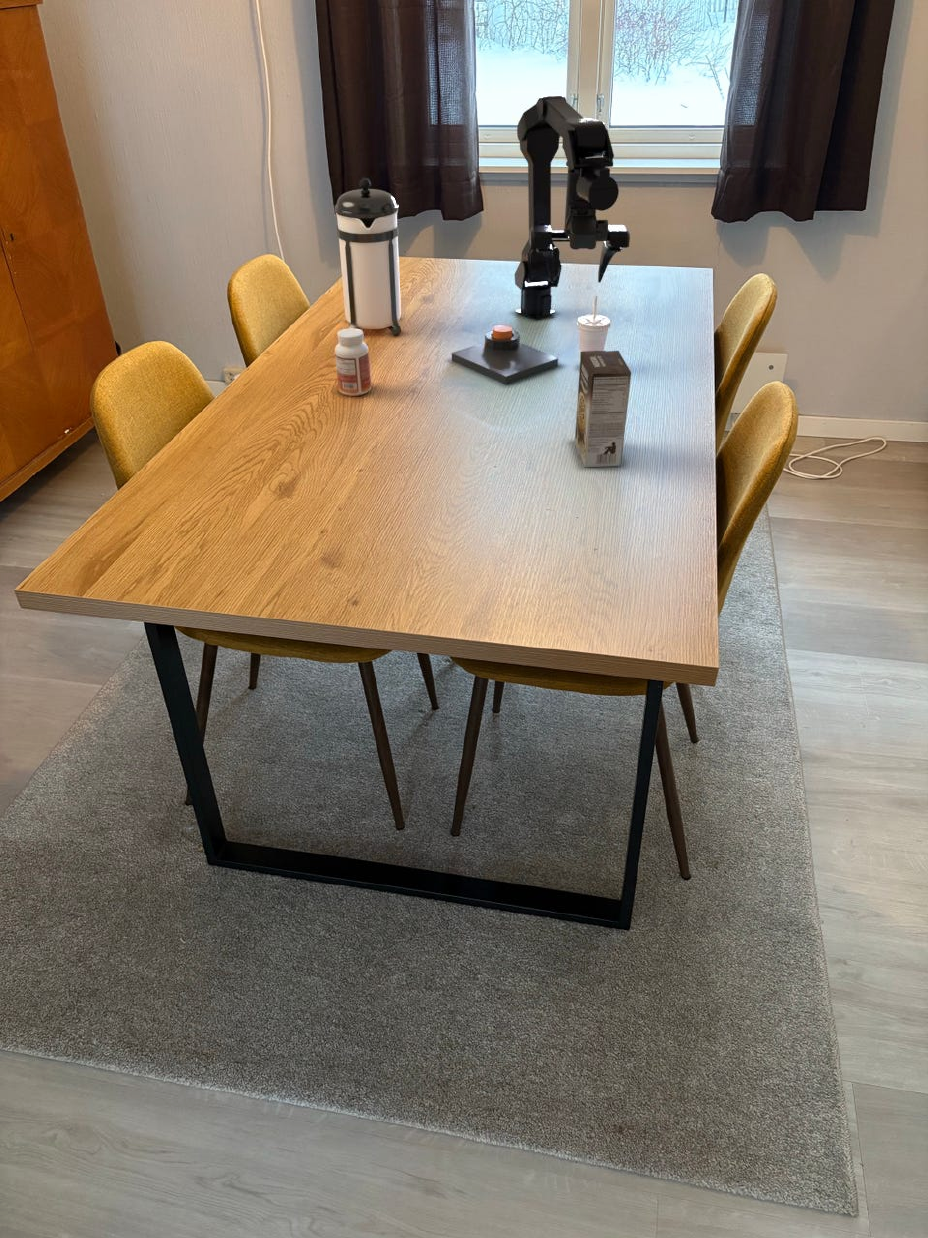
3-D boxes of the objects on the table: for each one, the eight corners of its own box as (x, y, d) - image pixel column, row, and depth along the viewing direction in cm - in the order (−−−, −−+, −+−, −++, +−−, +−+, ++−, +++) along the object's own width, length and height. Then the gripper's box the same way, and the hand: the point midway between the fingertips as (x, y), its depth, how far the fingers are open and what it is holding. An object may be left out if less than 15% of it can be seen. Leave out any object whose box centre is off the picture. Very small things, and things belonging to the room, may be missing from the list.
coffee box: (572, 442, 159) (579, 350, 149) (610, 441, 159) (619, 348, 150) (583, 468, 152) (590, 372, 142) (622, 466, 152) (632, 371, 142)
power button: (488, 336, 190) (488, 327, 189) (503, 331, 192) (503, 323, 191) (501, 341, 188) (502, 333, 187) (516, 337, 190) (516, 328, 189)
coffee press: (426, 325, 204) (421, 176, 186) (371, 345, 195) (361, 190, 177) (372, 307, 214) (363, 163, 196) (318, 325, 205) (303, 176, 187)
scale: (450, 360, 188) (449, 343, 186) (503, 343, 196) (503, 326, 194) (505, 385, 178) (506, 367, 176) (559, 365, 186) (560, 348, 184)
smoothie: (606, 362, 187) (612, 292, 179) (606, 375, 182) (613, 303, 173) (573, 361, 188) (578, 291, 179) (573, 374, 182) (578, 302, 174)
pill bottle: (364, 381, 180) (360, 324, 173) (376, 392, 176) (372, 334, 169) (333, 387, 178) (328, 329, 171) (345, 399, 174) (340, 340, 167)
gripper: (534, 208, 168) (531, 295, 178) (638, 207, 169) (629, 295, 178) (530, 193, 177) (527, 277, 187) (628, 192, 177) (620, 276, 187)
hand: (575, 281), depth 184 cm, fingers open, 9 cm apart
